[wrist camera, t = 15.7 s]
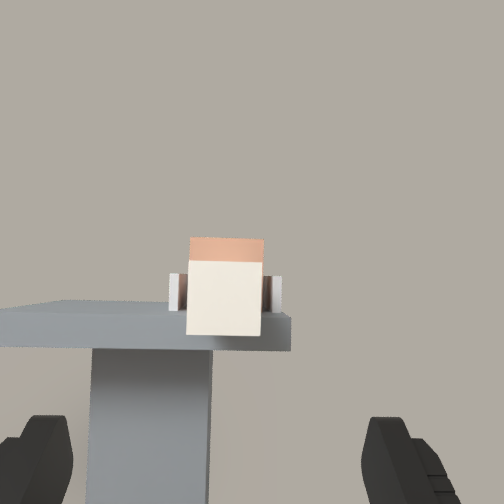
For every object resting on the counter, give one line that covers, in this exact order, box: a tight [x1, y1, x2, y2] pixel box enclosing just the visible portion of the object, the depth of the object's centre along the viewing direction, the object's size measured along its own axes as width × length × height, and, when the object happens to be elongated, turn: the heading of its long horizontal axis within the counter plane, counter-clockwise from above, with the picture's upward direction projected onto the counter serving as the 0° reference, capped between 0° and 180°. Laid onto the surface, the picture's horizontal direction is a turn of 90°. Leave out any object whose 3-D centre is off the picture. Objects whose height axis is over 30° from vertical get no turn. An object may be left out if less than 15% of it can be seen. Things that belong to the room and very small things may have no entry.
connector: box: [186, 237, 264, 336], centre depth 27 cm, size 5×17×5 cm, turn 3°
